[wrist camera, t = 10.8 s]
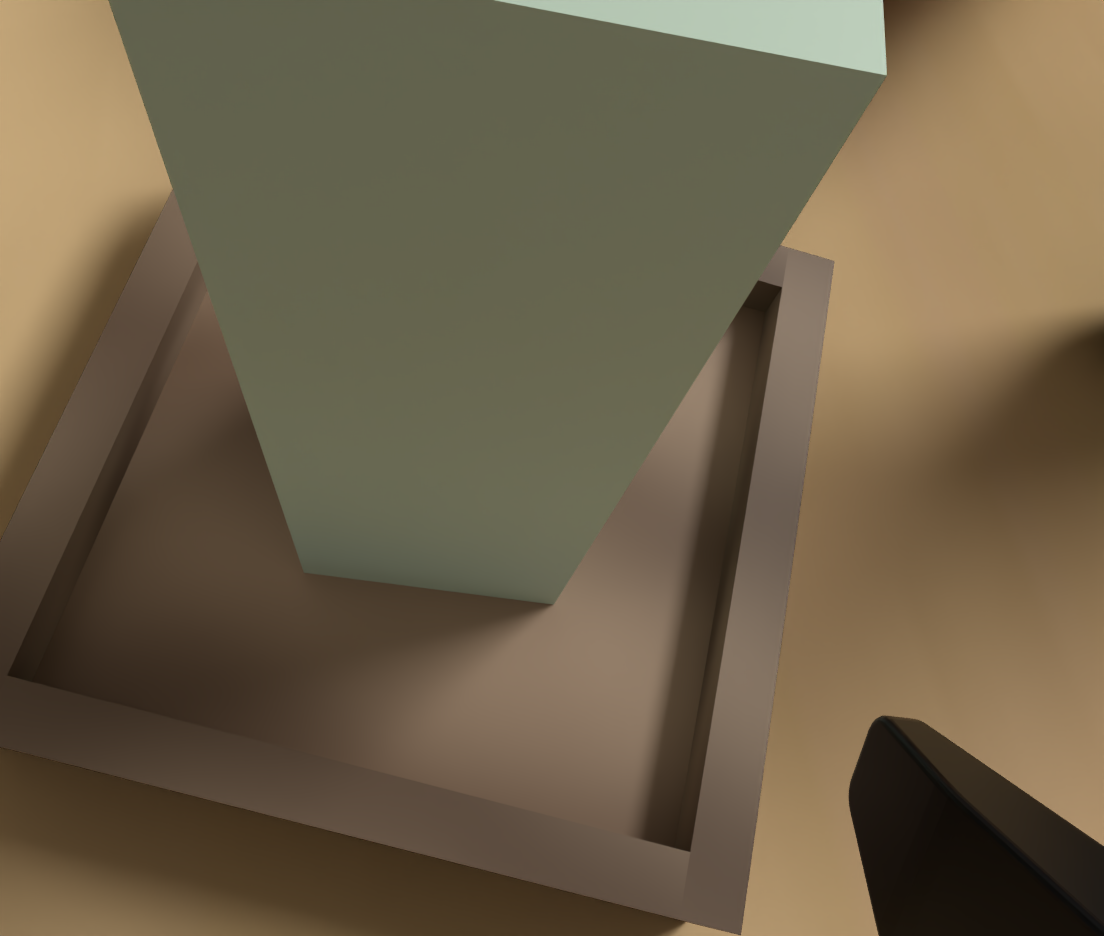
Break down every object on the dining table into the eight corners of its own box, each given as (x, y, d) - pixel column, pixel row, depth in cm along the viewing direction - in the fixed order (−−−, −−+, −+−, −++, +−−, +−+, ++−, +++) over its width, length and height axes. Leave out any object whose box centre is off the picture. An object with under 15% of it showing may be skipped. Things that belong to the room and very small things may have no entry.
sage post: (553, 604, 18) (887, 75, 6) (303, 572, 17) (80, -79, 5) (574, 385, 19) (862, -380, 7) (348, 351, 19) (257, -525, 7)
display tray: (687, 922, 18) (740, 935, 15) (-11, 743, 17) (-90, 723, 14) (782, 332, 23) (834, 261, 20) (246, 178, 22) (224, 83, 19)
